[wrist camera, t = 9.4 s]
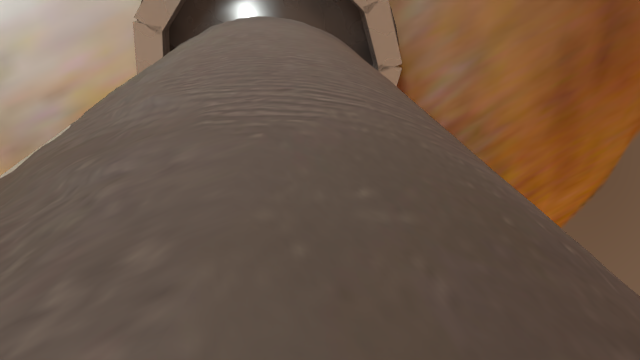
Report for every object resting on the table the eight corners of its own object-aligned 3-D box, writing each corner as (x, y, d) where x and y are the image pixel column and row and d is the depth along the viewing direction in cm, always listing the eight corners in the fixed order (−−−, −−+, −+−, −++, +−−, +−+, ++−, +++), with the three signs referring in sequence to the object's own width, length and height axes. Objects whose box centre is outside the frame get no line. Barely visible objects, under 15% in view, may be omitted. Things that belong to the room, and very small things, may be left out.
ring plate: (129, -120, 18) (108, -133, 16) (428, -48, 21) (445, -50, 19) (149, 165, 26) (138, 182, 24) (361, 186, 29) (368, 203, 27)
